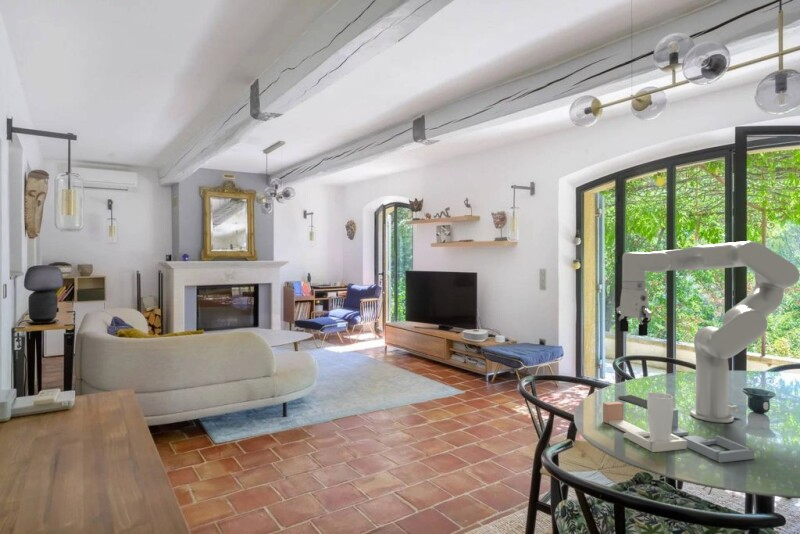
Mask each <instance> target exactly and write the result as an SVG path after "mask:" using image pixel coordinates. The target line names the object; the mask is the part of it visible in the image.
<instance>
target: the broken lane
mask: <svg viewBox="0 0 800 534" xmlns="http://www.w3.org/2000/svg"><path fill="white" fill-rule="evenodd" d="M671 434H674V435H676V436H678V437H682V439H685V440H687V449H690V450H693V451H695V452H696V453H698V454H701V455H703V456H704V457H707V458H709V459H712V460H714V461H716V462H718V463H729V462H737V461H746V460H747V461H748V460H754V459H755V449H753V448H751V447H747V446H745V445H743V444H740V443H738V442H736V441H733V440H731V439H728V438H726V437H724V436H721V435H719V434H718V435H717V434H716V435H715V438H712V439H706V438H703V437H701V436H699V435H690V434H689V431H688V430H685V429H682V428H680V427H679V409H677V408H675V407H674V408H673V420H672V430H671ZM710 445H718V446H720V447H722V448H724V449H727V450H723V451H722V450H721V451H719V450H716V449H714V448H712V447H709V446H710Z"/></svg>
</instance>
